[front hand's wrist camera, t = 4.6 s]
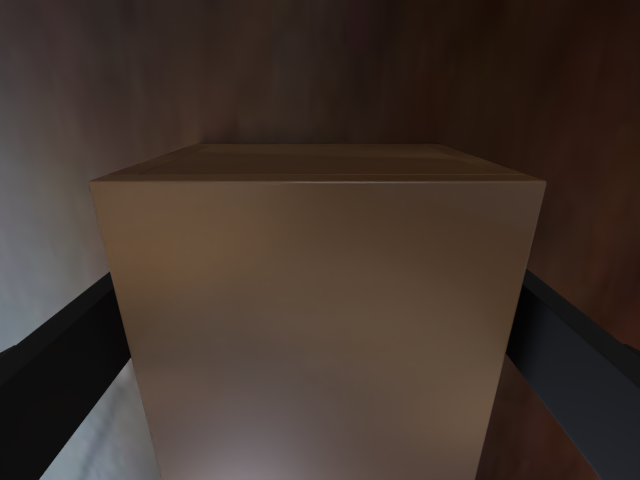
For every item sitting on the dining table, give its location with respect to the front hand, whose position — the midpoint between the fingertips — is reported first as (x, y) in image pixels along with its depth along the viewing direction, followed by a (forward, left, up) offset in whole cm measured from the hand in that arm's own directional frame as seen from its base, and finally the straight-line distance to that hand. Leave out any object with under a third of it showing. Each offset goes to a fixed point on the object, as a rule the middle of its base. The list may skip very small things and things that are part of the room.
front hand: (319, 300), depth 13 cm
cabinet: (+4, +2, -5) cm, 7 cm away
